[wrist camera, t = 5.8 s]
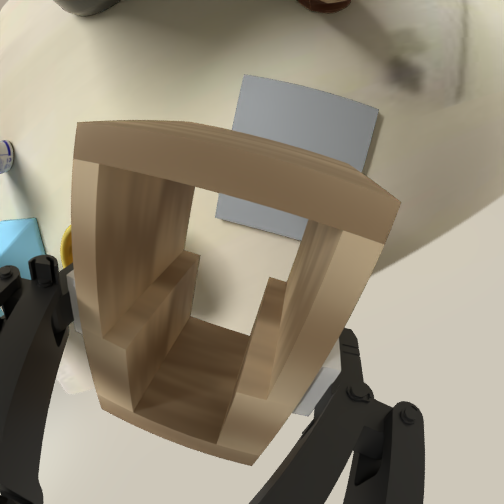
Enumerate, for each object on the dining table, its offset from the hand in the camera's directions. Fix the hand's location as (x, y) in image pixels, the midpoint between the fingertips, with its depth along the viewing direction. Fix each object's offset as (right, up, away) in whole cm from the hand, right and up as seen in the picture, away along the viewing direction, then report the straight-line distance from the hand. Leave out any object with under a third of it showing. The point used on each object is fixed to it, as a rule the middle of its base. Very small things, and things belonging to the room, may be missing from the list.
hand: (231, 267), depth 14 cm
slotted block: (0, 0, +1) cm, 1 cm away
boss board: (+5, +10, +12) cm, 16 cm away
